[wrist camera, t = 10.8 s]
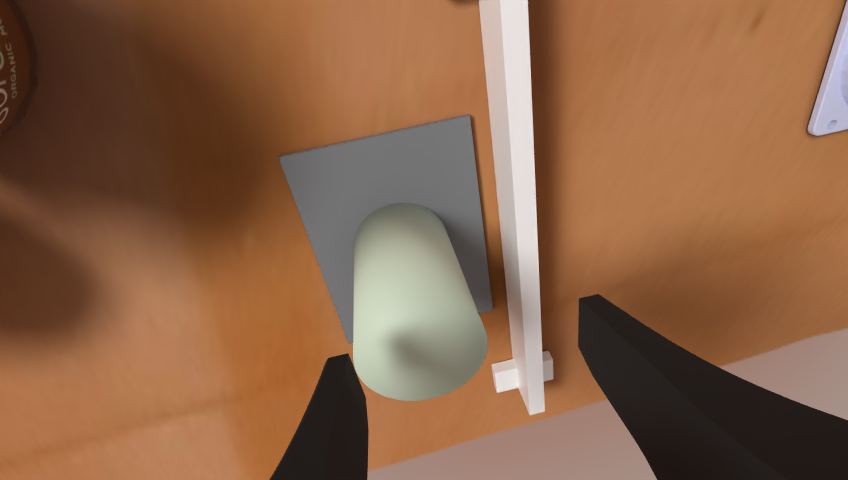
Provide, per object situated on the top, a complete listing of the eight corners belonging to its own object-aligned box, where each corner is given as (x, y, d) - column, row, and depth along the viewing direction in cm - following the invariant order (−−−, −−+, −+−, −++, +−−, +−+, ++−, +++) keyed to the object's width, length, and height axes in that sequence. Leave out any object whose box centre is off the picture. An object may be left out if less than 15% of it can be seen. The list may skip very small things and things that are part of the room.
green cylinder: (440, 193, 21) (480, 286, 14) (453, 272, 24) (493, 383, 17) (343, 214, 21) (336, 319, 14) (367, 292, 24) (371, 413, 17)
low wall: (534, -86, 16) (568, -102, 14) (548, 370, 30) (567, 406, 27) (433, -66, 16) (448, -77, 13) (494, 383, 29) (507, 420, 27)
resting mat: (468, 114, 20) (470, 115, 19) (491, 307, 26) (493, 310, 26) (279, 155, 19) (278, 158, 19) (349, 340, 26) (349, 343, 25)
